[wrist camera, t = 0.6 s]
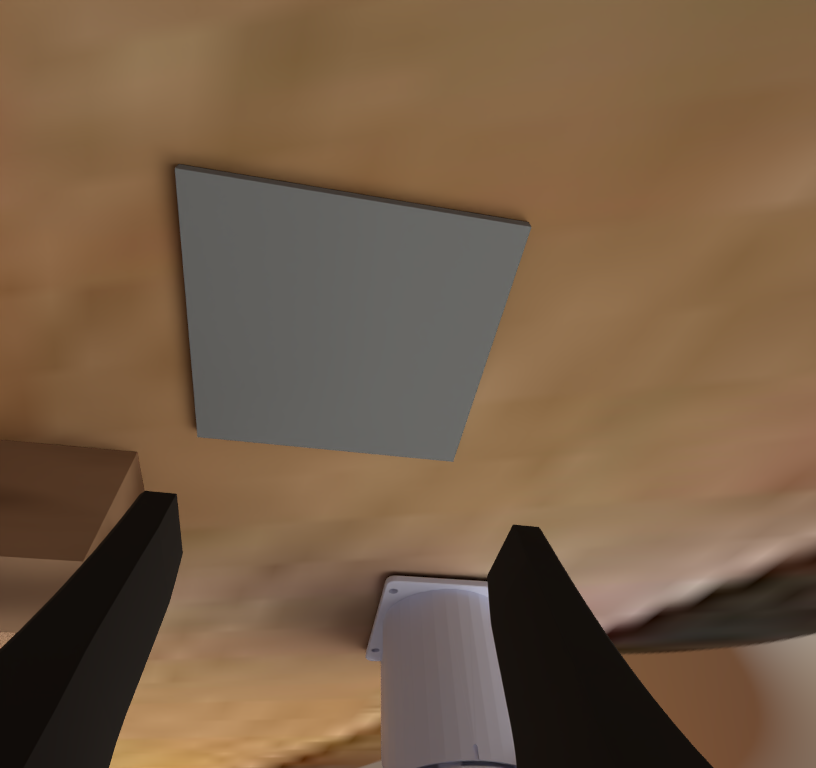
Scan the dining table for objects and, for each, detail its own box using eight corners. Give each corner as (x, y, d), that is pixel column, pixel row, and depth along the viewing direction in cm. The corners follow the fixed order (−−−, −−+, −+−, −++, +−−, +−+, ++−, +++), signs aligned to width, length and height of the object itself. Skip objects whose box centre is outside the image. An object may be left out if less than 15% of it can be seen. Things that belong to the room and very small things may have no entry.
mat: (452, 455, 24) (453, 461, 24) (199, 430, 23) (197, 436, 22) (528, 222, 17) (531, 227, 17) (178, 164, 16) (174, 167, 16)
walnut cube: (152, 527, 27) (108, 636, 22) (32, 519, 26) (-37, 630, 22) (137, 450, 23) (83, 561, 19) (0, 438, 23) (-90, 550, 18)
